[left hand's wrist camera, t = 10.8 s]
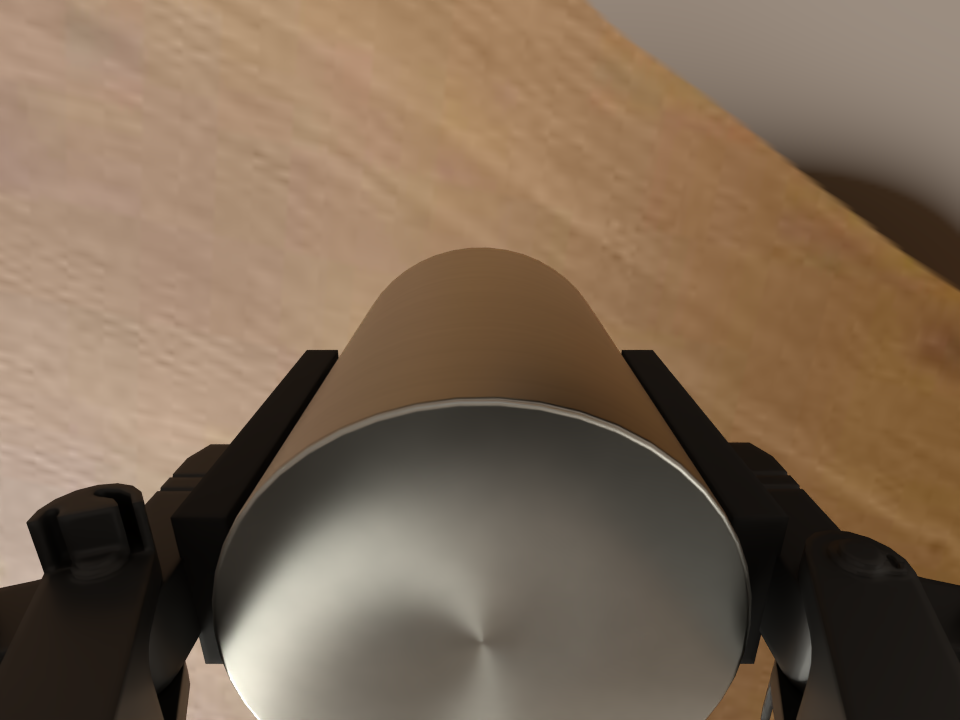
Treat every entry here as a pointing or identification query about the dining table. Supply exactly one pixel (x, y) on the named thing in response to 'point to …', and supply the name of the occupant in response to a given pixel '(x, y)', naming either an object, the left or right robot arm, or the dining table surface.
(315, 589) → the can
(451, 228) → the dining table surface
